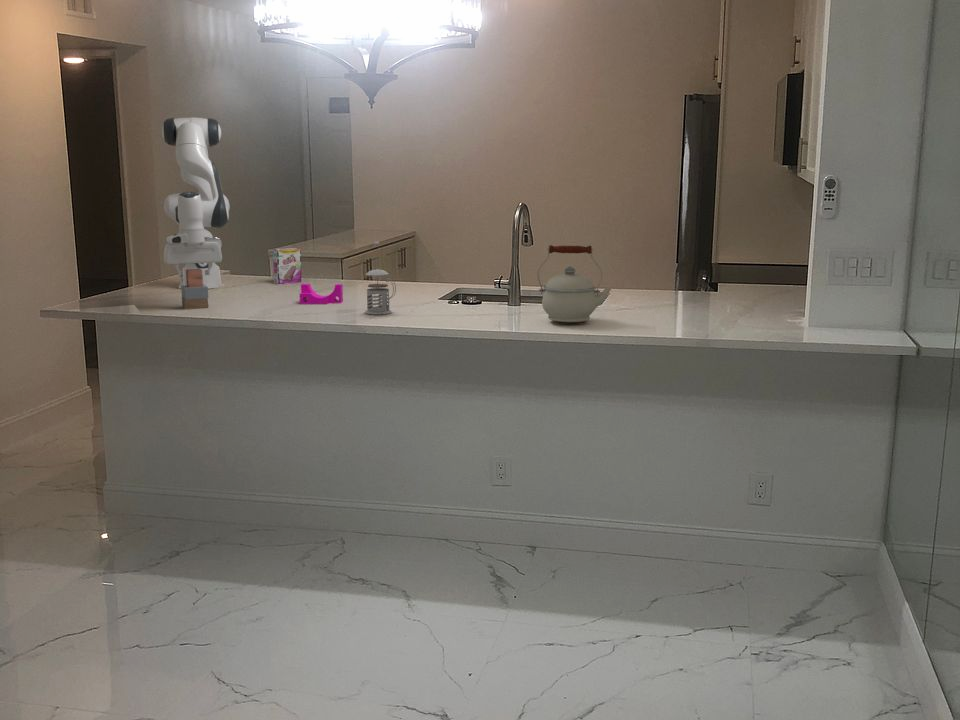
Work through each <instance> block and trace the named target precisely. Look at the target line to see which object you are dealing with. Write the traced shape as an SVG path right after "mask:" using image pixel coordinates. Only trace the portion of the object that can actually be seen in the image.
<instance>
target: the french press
mask: <svg viewBox="0 0 960 720" xmlns="http://www.w3.org/2000/svg"><path fill="white" fill-rule="evenodd" d="M373 244H374V246H380V242H379V241H375V242H374V243H373ZM378 265H379V264H378V259H376V268H375V269H371V270H370V271H367V273H365V275H366V276H367V277H376V281H377V283H370V284H368V285H367V288H368V289H366V301H367V303H366V305H367V309H366V310H365V311H364V314H367V315H388V314H391V313H393V312H392V310H390V299H392V298H393V297H394V296H395V295H396V292H397V286H396V283H395V281H394V280H393V279H392V278H390V277H389V278H385V282H386V283H379V277H387V276H389V275H390V273H388V272H387V271H386V270H383V269H379V268H378V267H379V266H378ZM389 282H390V283H391V285H392V294H391V296H390V289H389V288H388V287H389V284H387V283H389Z"/></svg>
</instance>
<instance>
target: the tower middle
mask: <svg viewBox="0 0 960 720" xmlns="http://www.w3.org/2000/svg"><path fill="white" fill-rule="evenodd" d="M182 297H183V298H185V299H200V298H208V299H209V289H208V287H207V286H205V285H203V287H190V288H189V287H187V286H181V298H182Z"/></svg>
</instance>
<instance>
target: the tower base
mask: <svg viewBox="0 0 960 720" xmlns="http://www.w3.org/2000/svg"><path fill="white" fill-rule="evenodd" d="M181 305H182V308H183V309H185V310H197V309H202V310H203V309H209V297H208V298H200V299H185V298H183V297H182V296H181Z"/></svg>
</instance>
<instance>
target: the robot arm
mask: <svg viewBox="0 0 960 720" xmlns="http://www.w3.org/2000/svg"><path fill="white" fill-rule="evenodd" d="M161 135H162V138H163V140H164V142H165V144H167V145H169V146H173V147H175V159H176V163H177V165H178V167H180V177H181V179H182V180H183V182H185V183H186V184H188V185H190V186H192V187H195V189H197V190H198V192H197V191H196V192H195V191H184V192H178V193H177V192H176V193H172V194H169V195H167V196H166V197H165V199H164V202H163V209H164V210H163V211H164V213H165V215H166V216H167V217H168V218H170V220H172V221H174V222H175V224H177V225H178V233H175V234H172V235H169V236H167V237H166V238H165V239H166V244H165V246H164V251H163V262H164V263H165V264H166V265H174V268H175V269H176V271H177V272H178V273H177V274H178V277H179V278H181V281H180V283H179V284H178V289H179V290H180V289H181V286H187V282H186V270H189V269H201V270H202V277H203V285H205V286H207V287H208V290H209V289H218V288H220V287H225V286H226V284H225V283H223V282H222V280H221V271H220V266H219V265H217V264H216V263H221V262H222V261H223V254H222V253H223V252H222V250H221V249H222V247H223V245H222V243H223V242H222V240H221V239H220V238H219V237H217V236H213V234H212V233H211V232H210V231H209V230H208V229H206V228H216V229H221V228H223V227H224V226H225V225H226V224H227V223H228V222H229V218H230V214H229V212H230V209H231V207H230V201H229V198H227V196H226V195H225V194H224V192H223V188H222V185H221V184H222V183H221V179H220V176H219V172H218V168H217V166H216V164H215V162H213V161H212V160H210V158H209V152H208V151H209V150H208V147H209V148H212V147H214V146H216V145H218V144H219V143H220V141H221V138H222V128H221V126H220V124H219V122H218V120H216V119H214V118H204V117H196V116H195V117H177V118H174V117H170V118H167V119H165V120H164V121H163V124H162V127H161ZM183 264H185V265H184V267H182V270H180V269H179V268H180V265H183Z"/></svg>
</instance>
